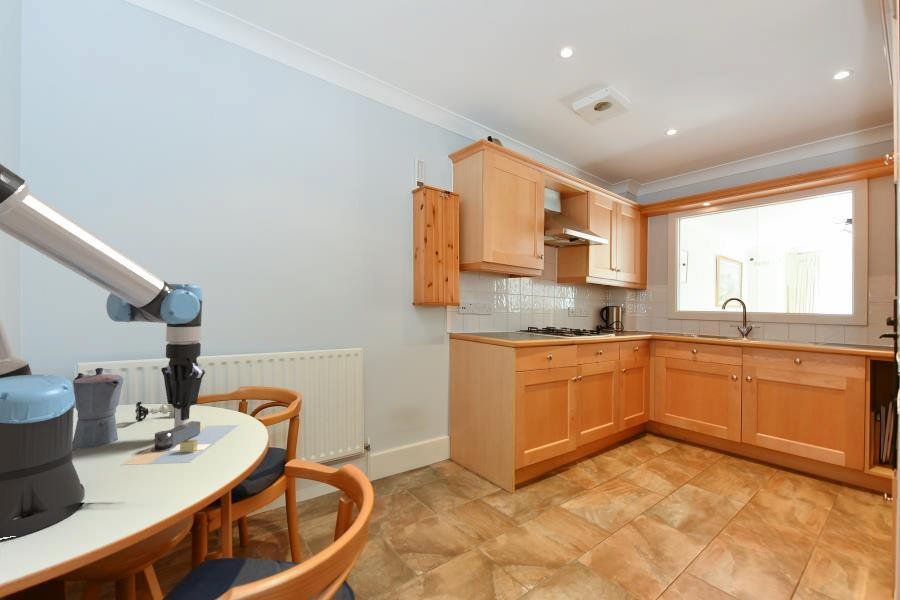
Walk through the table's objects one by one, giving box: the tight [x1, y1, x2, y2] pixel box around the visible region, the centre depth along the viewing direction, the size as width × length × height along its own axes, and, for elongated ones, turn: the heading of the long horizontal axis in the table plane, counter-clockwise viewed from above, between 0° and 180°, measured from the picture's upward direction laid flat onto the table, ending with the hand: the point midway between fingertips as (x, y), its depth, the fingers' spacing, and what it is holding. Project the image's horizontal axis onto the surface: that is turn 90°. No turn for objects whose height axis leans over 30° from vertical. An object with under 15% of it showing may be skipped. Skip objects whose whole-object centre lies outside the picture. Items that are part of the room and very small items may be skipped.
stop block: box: [180, 440, 197, 453], centre depth 91 cm, size 2×3×2 cm, turn 97°
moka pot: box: [72, 367, 124, 452], centre depth 96 cm, size 10×15×20 cm, turn 78°
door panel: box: [120, 424, 240, 466], centre depth 97 cm, size 26×14×1 cm, turn 7°
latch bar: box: [153, 420, 201, 450], centre depth 96 cm, size 12×4×4 cm, turn 173°
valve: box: [134, 398, 174, 423], centre depth 118 cm, size 7×7×12 cm
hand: (181, 431), depth 100 cm, fingers closed
